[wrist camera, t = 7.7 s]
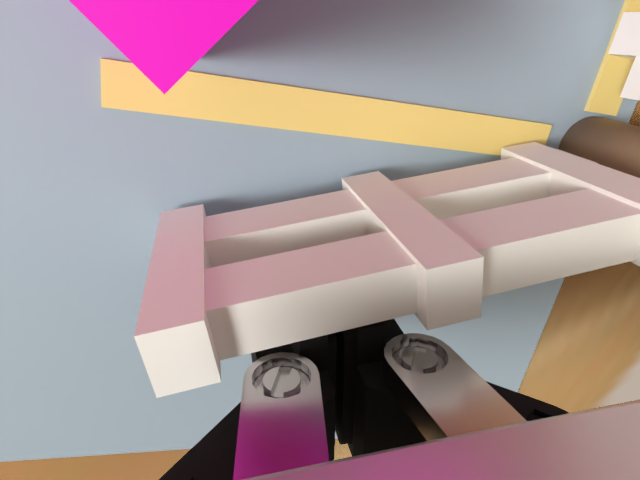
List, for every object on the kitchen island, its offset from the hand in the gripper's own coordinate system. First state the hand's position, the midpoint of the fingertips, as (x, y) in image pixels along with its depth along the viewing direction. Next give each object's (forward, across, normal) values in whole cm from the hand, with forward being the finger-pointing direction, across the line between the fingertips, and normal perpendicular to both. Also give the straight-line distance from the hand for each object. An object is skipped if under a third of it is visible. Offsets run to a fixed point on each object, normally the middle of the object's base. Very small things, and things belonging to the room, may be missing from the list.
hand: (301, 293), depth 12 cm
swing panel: (+1, -2, -2) cm, 3 cm away
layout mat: (+1, -1, -1) cm, 2 cm away
